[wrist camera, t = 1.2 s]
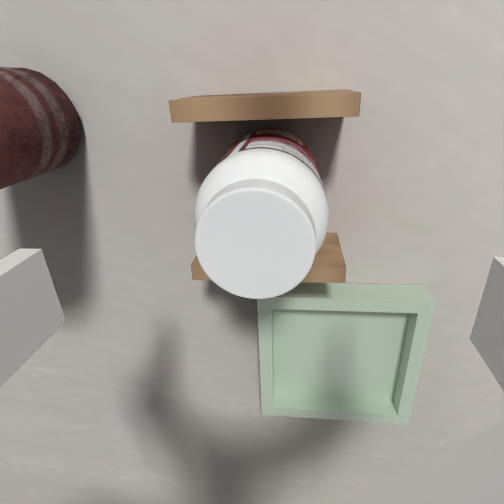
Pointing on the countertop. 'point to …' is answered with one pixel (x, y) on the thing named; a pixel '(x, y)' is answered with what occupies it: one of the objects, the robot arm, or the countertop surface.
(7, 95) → the can
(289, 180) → the pill bottle
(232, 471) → the countertop surface
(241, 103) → the rack
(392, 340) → the tray
